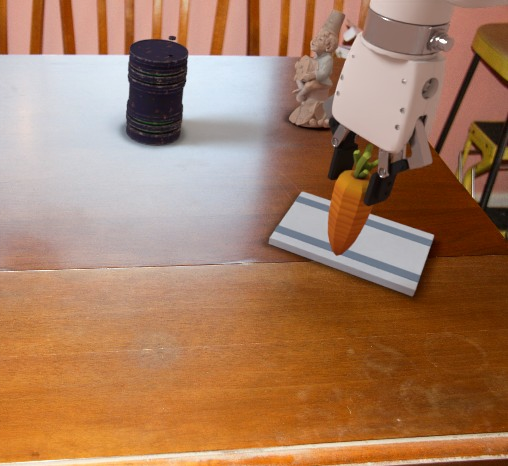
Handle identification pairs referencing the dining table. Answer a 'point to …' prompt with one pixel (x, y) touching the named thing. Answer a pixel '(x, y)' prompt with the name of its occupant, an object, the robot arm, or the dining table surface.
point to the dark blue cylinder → (156, 90)
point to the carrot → (350, 203)
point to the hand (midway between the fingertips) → (356, 187)
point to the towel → (356, 245)
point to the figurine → (316, 75)
